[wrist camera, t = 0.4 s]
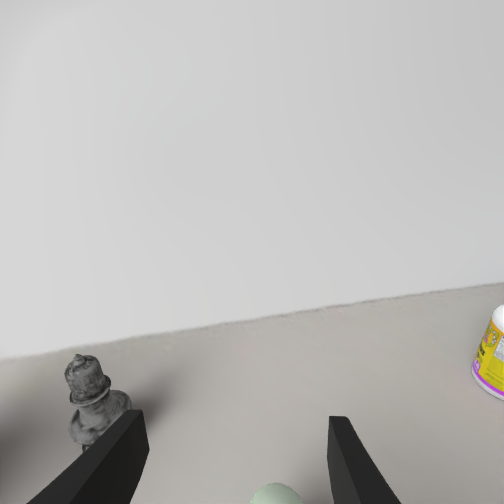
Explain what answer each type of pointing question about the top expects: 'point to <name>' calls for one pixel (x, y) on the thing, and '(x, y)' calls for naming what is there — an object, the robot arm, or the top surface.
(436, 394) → the top surface
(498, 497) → the top surface
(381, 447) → the top surface
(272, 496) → the peg
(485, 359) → the supplement bottle
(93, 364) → the salt shaker
